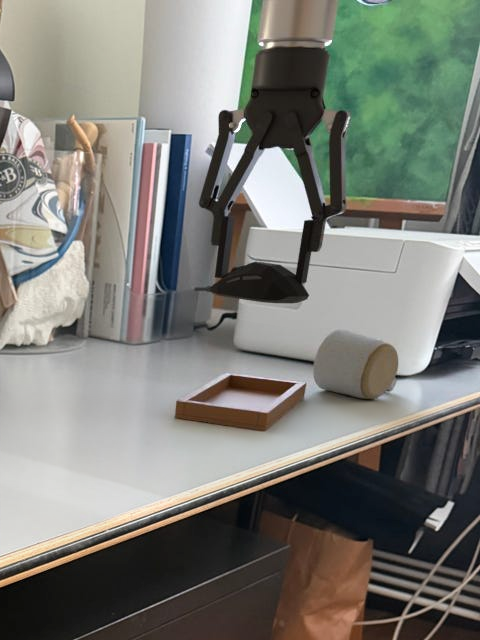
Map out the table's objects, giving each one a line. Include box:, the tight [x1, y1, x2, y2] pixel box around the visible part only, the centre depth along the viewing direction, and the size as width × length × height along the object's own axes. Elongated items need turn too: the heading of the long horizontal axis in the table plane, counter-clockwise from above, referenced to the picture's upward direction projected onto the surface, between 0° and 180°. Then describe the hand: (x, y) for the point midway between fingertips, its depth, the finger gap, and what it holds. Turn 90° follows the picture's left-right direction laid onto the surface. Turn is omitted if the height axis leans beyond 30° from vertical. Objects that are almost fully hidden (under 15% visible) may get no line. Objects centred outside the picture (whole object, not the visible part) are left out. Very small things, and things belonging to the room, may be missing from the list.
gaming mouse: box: [194, 261, 310, 304], centre depth 108 cm, size 6×15×4 cm, turn 43°
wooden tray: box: [174, 372, 307, 432], centre depth 113 cm, size 10×20×2 cm, turn 151°
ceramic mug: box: [312, 328, 399, 400], centre depth 120 cm, size 11×8×8 cm
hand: (260, 279), depth 108 cm, fingers closed on gaming mouse, 8 cm apart
